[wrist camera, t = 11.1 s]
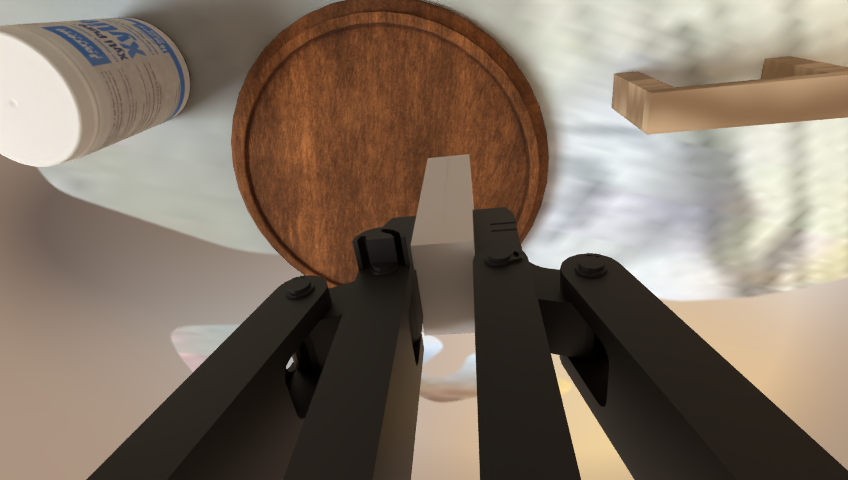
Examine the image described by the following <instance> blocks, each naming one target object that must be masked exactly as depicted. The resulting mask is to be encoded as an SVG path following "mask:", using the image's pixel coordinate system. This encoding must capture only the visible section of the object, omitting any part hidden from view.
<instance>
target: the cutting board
mask: <svg viewBox="0 0 848 480" xmlns="http://www.w3.org/2000/svg"><path fill="white" fill-rule="evenodd" d="M231 145H232V157H233V167H234V171H235V175H236V179H237V183H238V187H239V190H240V193H241V195H242V198H243V200H244V203H245V205H246V207H247V210H248V212H249V213H250V215H251V217H252V218H253V220H254V222H255V224H256V225H257V227H258V229H259V230H260V232H261V233H262V234H263V235H264V237H265V238H266V239H267V240H268V242H269V243H270V244H271V245H272V247H273V248H274V249H275V250H276V251H277V252H278V253H279V254H280V255H281V256H282V257H283V258H284V259H285V260H286V261H287V262H288V263H289V264H290V265H292V266H293V267H294V268H296V269H297V270H298V271H300V272H301V273H302V274H304V275H306V276H309V275H315V276H320V277H322V278H324V279H325V280H326V281H327V285H328V288H332V287H336V286H340V285H344V284H347V283H350V282H352V281H355V279H356V276H357V273H358V270H359V269H358V265H357V261H356V256H355V252H354V247H353V243H352V241H353V239H354V238H355V237H356V236H357V235H359V234H360V233H362V232H364V231H367V230H370V229H373V228H378V227H383V226H384V225H385V224H386V223H387V222H388V221H389V220H391V219H392V218H397V217H408V216H416V215H417V210H418V205H419V200H420V195H421V190H422V185H423V180H424V175H425V170H426V165H427V160H428V158H436V157H446V156H456V155H466V154H469V157H470V169H471V181H472V193H473V204H474V210H476V209H487V208H499V207H506V208H507V209H508V210H510V211H511V212H512V213H514V217H515V222H516V226H517V230H518V234H519V239H520V243H522V241H523V240H524V238H525V237H526V235H527V233H528V232H529V230H530V229H531V227H532V225H533V223H534V220H535V218H536V216H537V213H538V211H539V209H540V207H541V203H542V199H543V195H544V191H545V187H546V183H547V171H548V158H549V157H548V146H547V135H546V129H545V126H544V122H543V118H542V114H541V110H540V107H539V105H538V102H537V100H536V98H535V96H534V94H533V91H532V89H531V87H530V85H529V83H528V81H527V80H526V78H525V77H524V75H523V74H522V72H521V71H520V69H519V68H518V66H517V65H516V63H515V62H514V60H513V59H512V58H511V57H510V56H509V55H508V54H507V53H506V52H505V51H504V49H503V48H502V47H501V46H500V45H499V44H498V43H497V42H496V41H495V40H494V39H493V38H492V37H490V36H489V35H488V34H486V33H485V32H484V31H482V30H481V29H480V28H478V27H477V26H476V25H474V24H473V23H472V22H470V21H468V20H466V19H464V18H462V17H460V16H459V15H457V14H455V13H453V12H451V11H449V10H447V9H445V8H442V7H439V6H436V5H432V4H429V3H426V2H423V1H419V0H345V1H341V2H337V3H333V4H329V5H327V6H325V7H323V8H320V9H318V10H316V11H314V12H312V13H309V14H307V15H305V16H303V17H302V18H301V19H299V20H298V21H296V22H295V23H293V24H292V25H290V26H289V27H287V28H286V29H285V30H283V31H282V32H281V33H280V34H279V35H278V36H277V37H276V38H275V39H274V40H273V41H272V42H271V43H270V44H269V45H268V46H267V47H266V48H265V49H264V50H263V52H262V53H261V55H260V56H259V58H258V59H257V61H256V62H255V64H254V65H253V67H252V68H251V69H250V71H249V73H248V75H247V77H246V80H245V82H244V84H243V86H242V89H241V91H240V93H239V96H238V100H237V104H236V108H235V112H234V116H233V126H232V139H231Z"/></svg>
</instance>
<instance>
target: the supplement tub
mask: <svg viewBox="0 0 848 480" xmlns="http://www.w3.org/2000/svg"><path fill="white" fill-rule="evenodd" d="M189 92H190V77H189V72H188V69H187V65H186V63H185V60H184V58H183V56H182V54H181V53H180V51H179V50H178V48H177V47H176V45H175V44H174V43H173V42H172V41H171V39H170V38H169V37H168V36H166V35H165V34H164V33H163V32H162V31H160V30H159V29H158V28H156V27H154V26H153V25H151V24H149V23H147V22H144V21H141V20H138V19H134V18H108V19H95V20H80V21H64V22H49V23H33V24H18V25H5V26H0V154H2V155H4V156H5V157H7V158H9V159H12V160H14V161H17V162H19V163H22V164H26V165H30V166H37V167H48V166H54V165H58V164H61V163H65V162H70V161H73V160H75V159H78V158H80V157H83V156H85V155H88V154H90V153H93V152H95V151H98V150H100V149H102V148H105V147H107V146H109V145H112V144H114V143H116V142H119V141H121V140H123V139H126V138H128V137H131V136H133V135H135V134H138V133H140V132H142V131H145V130H147V129H149V128H152V127H154V126H156V125H159V124H161V123H164V122H166V121H168V120H170V119H172V118H174V117H175V116H176V115H178V114H179V113H180V112H181V110H182V109H183V108H184V106H185V104H186V102H187V100H188V97H189Z"/></svg>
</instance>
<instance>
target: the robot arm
mask: <svg viewBox="0 0 848 480" xmlns="http://www.w3.org/2000/svg"><path fill="white" fill-rule="evenodd" d="M352 243H353V247H354V252H355V256H356V261H357V265H358V269H359V270H358V273H357V276H356V279H355V281H352V282H350V283H347V284H344V285H340V286H336V287H332V288H328V285H327V281H326V280H325V279H324V278H322V277H320V276H315V275H309V276H306V275H304V276H300V277H296V278H293V279H291V280H289V281H287V282H285V283H284V284H282V285H281V286H279V287H278V288H277V289H276V290H275V291H274V292H273V293H272V294H271V295H270V296H269V297H268V298H267V299H266V300H265V301H264V302H263V303H262V304H261V305H260V306H259V307H258V308H257V309H256V310H255V311H254V312H253V313H252V314H251V315H250V316H249V317H248V318H247V319H246V320H245V321H244V322H243V323H242V324H241V325H240V326H239V327H238V328H237V329H236V330H235V331H234V332H233V333H232V334H231V335H230V336H229V337H228V338H227V339H226V340H225V341H224V342H223V343H222V344H221V345H220V346H219V347H218V348H217V349H216V350H215V351H214V352H213V353H212V354H211V355H210V356H209V357H208V358H207V359H206V360H205V361H204V362H203V363H202V364H201V365H200V366H199V367H198V368H197V369H196V370H195V371H194V372H193V373H192V374H191V375H190V376H189V377H188V378H187V379H186V380H185V381H184V382H183V383H182V384H181V385H180V386H179V387H178V388H177V389H176V390H175V391H174V392H173V393H172V394H171V395H170V396H169V397H168V398H167V399H166V400H165V401H164V402H163V403H162V404H161V405H160V406H159V407H158V408H157V409H156V410H155V411H154V412H153V414H151V416H149V418H147V419H146V420H145V421H144V422H143V423H142V424H141V426H139V427H138V429H137V430H135V432H134V433H132V435H130V437H129V438H127V439H126V440H125V441H124V442H123V443H122V444H121V446H119V448H117V450H115V451H114V453H113V454H112V455H111V456H110V457H109V458H108V459H107V460H106V461H105V462H104V463H103V464H102V465H101V466H100V467H99V468H98V469H97V470H96V471H95V472H94V473H93V474H92V475H91V476H90V477H89V478H88V479H87V480H411V472H412V462H413V452H414V442H415V431H416V422H417V411H418V402H419V392H420V382H421V372H422V362H423V352H424V346H423V340H422V334H421V332H422V324H423V327H424V334H425V335H441V334H460V333H475V345H476V375H477V403H478V431H479V460H480V480H581V478H580V473H579V469H578V465H577V461H576V457H575V453H574V448H573V444H572V440H571V436H570V432H569V427H568V423H567V419H566V415H565V411H564V407H563V403H562V398H561V394H560V390H559V386H558V382H557V378H556V373H555V369H554V365H553V361H552V357H551V353H553V354H558V355H560V360H561V363H562V365H563V367H564V368H565V370H566V371H567V373H568V375H569V376H570V377H571V379H572V381H573V383H574V384H575V386H576V387H577V389H578V390H579V392H580V394H581V395H582V397H583V398H584V400H585V402H586V403H587V405H588V406H589V408H590V410H591V411H592V413H593V414H594V416H595V417H596V419H597V420H598V422H599V424H600V425H601V427H602V429H603V430H604V432H605V433H606V435H607V437H608V438H609V440H610V441H611V443H612V445H613V446H614V447H615V449H616V451H617V452H618V454H619V455H620V457H621V459H622V460H623V462H624V463H625V465H626V467H627V468H628V470H629V471H630V473H631V475H632V476H633V478H634V479H635V480H848V471H847V470H846V469H845V468H844V467H843V466H842V465H841V464H840V463H839V462H838V461H837V460H835V459H834V458H833V457H832V456H831V455H830V454H829V453H828V452H827V451H826V450H824V449H823V448H822V447H821V446H820V445H819V444H818V443H817V442H816V441H815V440H813V439H812V438H811V437H810V436H809V435H808V434H807V433H806V432H805V431H804V430H802V429H801V428H800V427H799V426H798V425H797V424H796V423H795V422H794V421H793V420H791V419H790V418H789V417H788V416H787V415H786V414H785V413H784V412H783V411H782V410H780V409H779V408H778V407H777V406H776V405H775V404H774V403H773V402H772V401H771V400H769V399H768V398H767V397H766V396H765V395H764V394H763V393H762V392H761V391H760V390H758V389H757V388H756V387H755V386H754V385H753V384H752V383H751V382H750V381H748V380H747V379H746V378H745V377H744V376H743V375H742V374H741V373H740V372H739V371H737V370H736V369H735V368H734V367H733V366H732V365H731V364H730V363H729V362H728V361H726V360H725V359H724V358H723V357H722V356H721V355H720V354H719V353H718V352H717V351H715V350H714V349H713V348H712V347H711V346H710V345H709V344H708V343H707V342H706V341H704V340H703V339H702V338H701V337H700V336H699V335H698V334H697V333H696V332H695V331H694V330H692V329H691V328H690V327H689V326H688V325H687V324H685V322H684V321H683V320H681V319H680V318H679V317H678V316H677V315H676V314H675V313H674V312H673V311H672V310H670V309H669V308H668V307H667V306H666V305H665V304H663V302H662V301H661V300H659V299H658V298H657V297H656V296H655V295H654V294H653V293H652V292H651V291H649V290H648V289H647V288H646V287H645V286H644V285H643V284H642V283H641V282H640V281H638V280H637V279H636V278H635V277H634V276H633V275H632V274H631V273H630V272H629V271H627V270H626V269H625V268H624V267H623V266H622V265H621V264H620V263H619V262H617V261H615V260H614V259H612V258H610V257H607V256H603V255H600V254H593V253H586V254H579V255H575V256H572V257H569V258H567V259H566V260H565V261H563V262H562V265H561V268H560V270H556V269H548V268H543V267H539V266H536V265H534V264H532V263H530V262H529V261H528V257H527V256H526V254H525V253H524V252H523V251H522V247H521V243H520V239H519V234H518V230H517V226H516V222H515V217H514V213H512V212H511V211H510V210H508V209H507V208H506V207H499V208H487V209H476V210H474V204H473V193H472V181H471V169H470V157H469V154H466V155H456V156H446V157H436V158H428V160H427V165H426V170H425V175H424V180H423V185H422V190H421V195H420V200H419V205H418V210H417V215H416V216H408V217H397V218H392V219H391V220H389V221H388V222H387V223H386V224H385V225H384V226H383V227H378V228H373V229H370V230H367V231H364V232H362V233H360V234H359V235H357V236H356V237H355V238H354V239H353V241H352ZM291 357H292V358H293V361H294V362H293V363H292V365H291V366H290V367H289V368H288V369H286V365H287V363H288V361H289V360H290V358H291Z"/></svg>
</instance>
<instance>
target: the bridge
mask: <svg viewBox="0 0 848 480" xmlns="http://www.w3.org/2000/svg"><path fill="white" fill-rule="evenodd" d="M612 108H613V109H614V110H615V111H617V112H618V113H619V114H621V115H622V116H623V117H625V118H626V119H627V120H629V121H630V122H631V123H633V124H634V125H635V126H637V127H638V128H639V129H641V130H642V131H643V132H645V133H646V134H657V133H669V132H680V131H692V130H704V129H716V128H728V127H739V126H751V125H763V124H775V123H787V122H798V121H810V120H822V119H834V118H846V117H848V67H843V66H838V65H832V64H827V63H822V62H816V61H811V60H806V59H800V58H795V57H780V58H770V59H765V62H764V66H763V71H762V76H761V79H759V80H749V81H738V82H728V83H717V84H706V85H696V86H685V87H675V88H674V87H672V86H669V85H667V84H665V83H662V82H660V81H658V80H656V79H653V78H651V77H649V76H646V75H644V74H642V73H639V72H629V73H619V74H614V84H613V98H612Z"/></svg>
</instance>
